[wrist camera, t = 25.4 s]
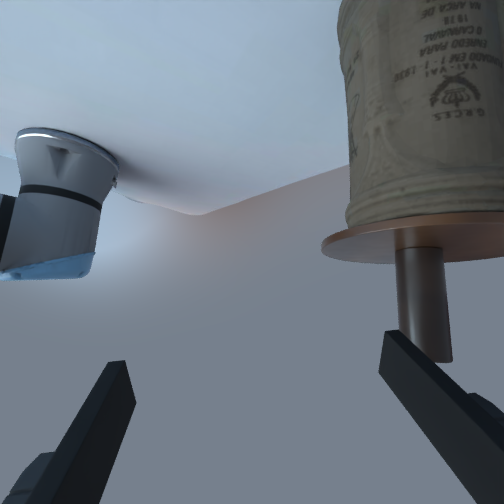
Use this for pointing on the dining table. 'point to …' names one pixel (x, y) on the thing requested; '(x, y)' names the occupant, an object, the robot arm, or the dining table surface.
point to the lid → (422, 265)
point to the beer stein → (423, 106)
